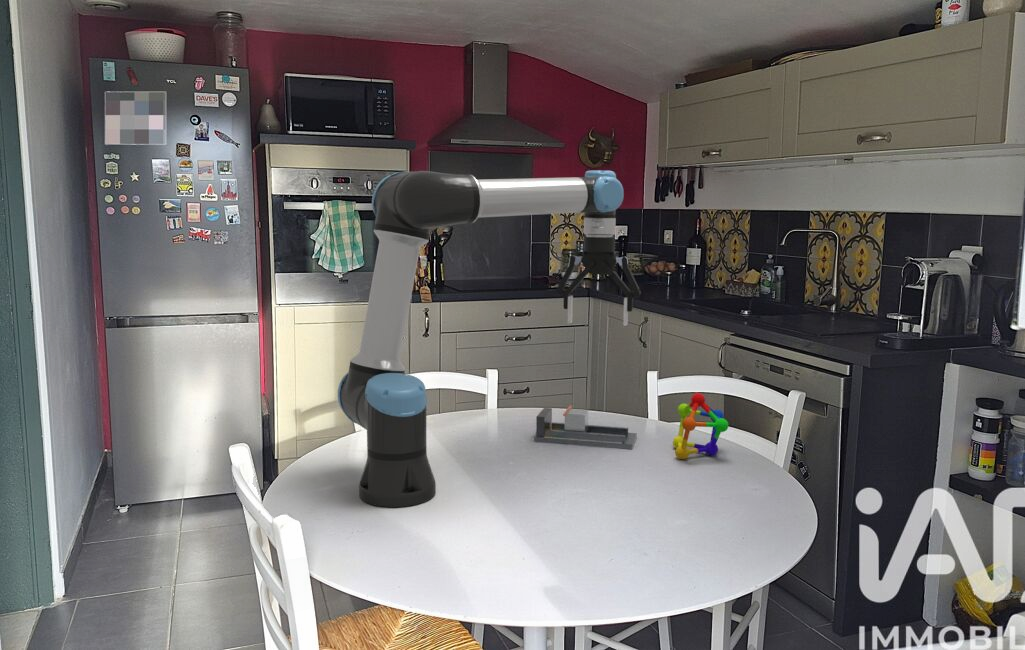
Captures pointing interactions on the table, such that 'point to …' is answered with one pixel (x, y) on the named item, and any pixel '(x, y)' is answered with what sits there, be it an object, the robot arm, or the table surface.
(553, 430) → the base
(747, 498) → the table surface
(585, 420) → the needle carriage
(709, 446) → the educational toy
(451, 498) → the table surface
